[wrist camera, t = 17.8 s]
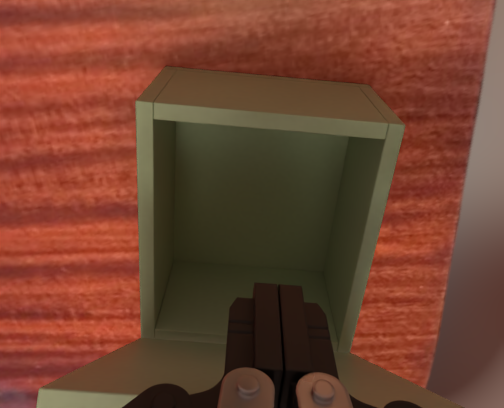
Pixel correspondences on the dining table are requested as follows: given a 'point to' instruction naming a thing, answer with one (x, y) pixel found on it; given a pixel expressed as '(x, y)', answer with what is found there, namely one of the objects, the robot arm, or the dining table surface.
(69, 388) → the lid
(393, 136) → the chest
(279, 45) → the dining table surface
